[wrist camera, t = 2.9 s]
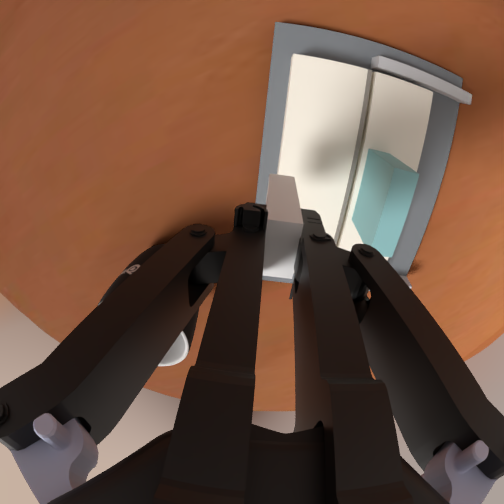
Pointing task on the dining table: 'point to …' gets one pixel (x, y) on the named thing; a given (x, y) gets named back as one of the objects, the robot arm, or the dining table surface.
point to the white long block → (386, 164)
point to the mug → (186, 336)
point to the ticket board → (361, 59)
